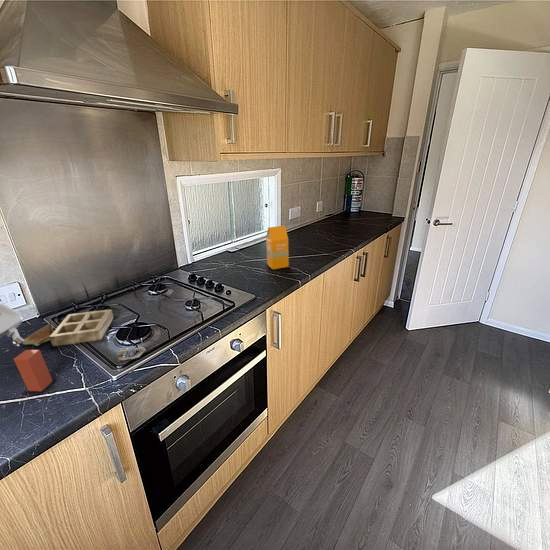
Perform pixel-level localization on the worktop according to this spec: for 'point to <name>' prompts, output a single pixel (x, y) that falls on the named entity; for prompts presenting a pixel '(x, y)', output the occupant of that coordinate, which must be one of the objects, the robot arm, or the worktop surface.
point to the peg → (33, 370)
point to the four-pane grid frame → (82, 327)
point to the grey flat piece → (130, 353)
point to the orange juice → (277, 247)
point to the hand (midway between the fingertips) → (4, 356)
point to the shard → (40, 335)
